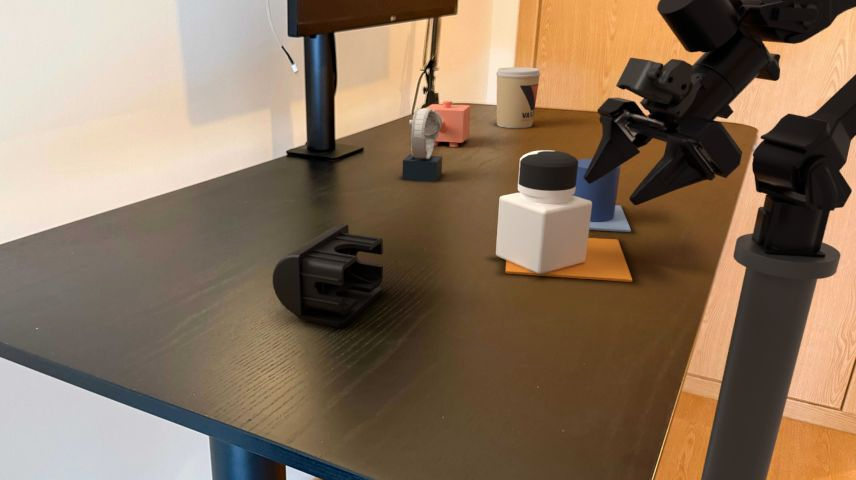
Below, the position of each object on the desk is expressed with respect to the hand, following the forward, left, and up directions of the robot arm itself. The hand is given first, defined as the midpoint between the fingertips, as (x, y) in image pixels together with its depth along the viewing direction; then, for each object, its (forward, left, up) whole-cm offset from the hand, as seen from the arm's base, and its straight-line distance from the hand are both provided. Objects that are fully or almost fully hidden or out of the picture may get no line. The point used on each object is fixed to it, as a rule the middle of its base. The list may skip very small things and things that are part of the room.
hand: (607, 191), depth 78 cm
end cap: (+27, +19, -8) cm, 34 cm away
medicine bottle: (+7, +3, -8) cm, 11 cm away
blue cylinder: (0, -15, -7) cm, 17 cm away
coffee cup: (+11, -83, -8) cm, 84 cm away
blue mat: (+1, -15, -8) cm, 17 cm away
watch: (+25, -33, -8) cm, 42 cm away
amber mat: (+4, +1, -8) cm, 9 cm away
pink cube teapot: (+24, -60, -8) cm, 65 cm away
